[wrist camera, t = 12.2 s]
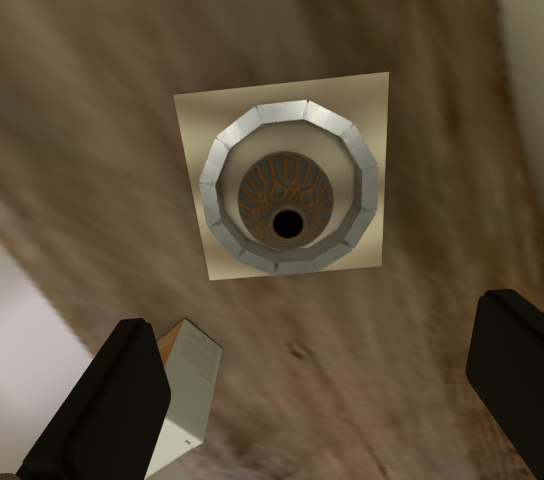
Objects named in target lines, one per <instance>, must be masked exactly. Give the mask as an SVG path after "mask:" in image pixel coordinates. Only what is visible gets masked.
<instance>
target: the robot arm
mask: <svg viewBox="0 0 544 480" xmlns="http://www.w3.org/2000/svg"><path fill="white" fill-rule="evenodd" d="M466 375H467V378H468V381H469V383H470V384H471V386H472V387H473V388H474V390H475V391H476V393H477V394H478V396H479V397H480V398H481V400H482V401H483V403H484V404H485V406H486V407H487V409H488V410H489V411H490V413H491V414H492V416H493V417H494V419H495V420H496V421H497V423H498V424H499V426H500V427H501V429H502V430H503V431H504V433H505V434H506V436H507V437H508V439H509V440H510V442H511V443H512V444H513V446H514V447H515V449H516V450H517V452H518V453H519V454H520V456H521V457H522V459H523V460H524V462H525V463H526V464H527V466H528V467H529V469H530V470H531V472H532V473H533V475H534V476H535V477H536V479H537V480H544V313H543V312H541V311H540V310H539V309H537V308H536V307H535V306H534V305H532V304H531V303H530V302H529V301H527V300H526V299H525V298H523V297H522V296H521V295H520V294H518V293H517V292H516V291H514V290H512V289H500V290H489V291H486V293H485V294H484V296H482V297H480V298H479V301H478V306H477V311H476V316H475V322H474V327H473V332H472V338H471V343H470V348H469V354H468V359H467V365H466ZM170 402H171V388H170V385H169V382H168V379H167V375H166V372H165V369H164V365H163V362H162V359H161V355H160V352H159V349H158V345H157V342H156V339H155V335H154V332H153V329H152V326H151V324H150V323H146V322H145V320H144V319H142V318H136V319H123V320H121V321H120V322H119V323H118V324H117V326H116V327H115V329H114V330H113V332H112V333H111V334H110V336H109V337H108V339H107V340H106V342H105V343H104V345H103V346H102V347H101V349H100V350H99V352H98V353H97V355H96V356H95V358H94V359H93V360H92V362H91V363H90V365H89V366H88V368H87V369H86V371H85V372H84V373H83V375H82V377H81V378H80V379H79V381H78V382H77V384H76V385H75V387H74V388H73V389H72V391H71V392H70V394H69V395H68V397H67V398H66V400H65V401H64V403H63V404H62V405H61V407H60V408H59V410H58V411H57V412H56V414H55V415H54V417H53V418H52V420H51V421H50V423H49V424H48V426H47V427H46V429H45V430H44V431H43V433H42V434H41V436H40V437H39V438H38V440H37V441H36V443H35V444H34V446H33V447H32V449H31V450H30V451H29V453H28V454H27V456H26V457H25V459H24V460H23V464H22V466H21V467H20V468H19V470H18V471H17V473H16V474H15V475H14V474H12V473H1V474H0V480H144V479H145V476H146V473H147V470H148V467H149V464H150V461H151V458H152V455H153V452H154V449H155V447H156V444H157V441H158V438H159V435H160V432H161V429H162V426H163V423H164V420H165V417H166V414H167V411H168V408H169V405H170Z"/></svg>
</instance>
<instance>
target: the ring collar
mask: <svg viewBox="0 0 544 480" xmlns="http://www.w3.org/2000/svg"><path fill="white" fill-rule="evenodd" d="M300 119H306V120H308V121H310V122H312V123H314V124H316V125H318V126H320V127H322V128H324V129H326V130H328V131H330V132H332V133H334V134H336V136H337V138H338V139H339V141H340V143H341V144H342V146H343V147H344V149H345V151H346V152H347V154H348V156H349V157H350V159H351V161H352V162H353V164H354V202H353V203H352V205H351V207H350V209H349V210H348V212H347V214H346V216H345V217H344V219H343V221H342V223H341V224H340V226H339V228H338V230H336V231H335V232H333V233H332V234H330V235H328V236H327V237H325V238H324V239H322V240H320V241H319V242H317V243H316V244H314V245H313V246H311V247H309V248H299V249H293V250H274V249H272V248H269V247H267V246H265V245H262V244H260V243H257V242H255V241H253V240H250V239H248V238H246V237H245V236H244V234H243V233H242V232H241V231H240V229H239V228H238V227H237V226H236V224H235V223H234V222H233V221H232V220H231V218H230V217H229V216H228V215H227V213H226V212H225V206H224V199H223V193H222V187H221V181H220V177H221V175H222V172H223V170H224V167H225V165H226V162H227V159H228V157H229V154H230V152H231V149H232V147H233V145H235V144H236V143H237V142H239V141H240V140H241V139H243V138H244V137H245V136H246V135H248V134H249V133H250V132H252V131H253V130H254V129H256V128H257V127H258V126H260V125H261V124H262V123H270V122H280V121H290V120H300ZM352 123H353V122H351V121H349V120H347V119H345V118H343V117H341V116H339V115H337V114H335V113H333V112H331V111H329V110H327V109H325V108H323V107H321V106H320V105H318V104H316V103H314V102H312V101H310V100H309V101H307V100H301V101H292V102H282V103H273V104H263V105H257V106H254V107H253V108H252V109H251V110H249V111H248V112H247V113H245V114H244V115H243V116H242V117H240V118H239V119H238V120H237V121H235V122H234V123H233V124H231V125H230V126H229V127H228V128H226V129H225V130H224V131H222V132H221V133H220V134H219V135H217V137H216V138H215V139H214V142H213V145H212V148H211V150H210V153H209V156H208V158H207V161H206V164H205V166H204V169H203V172H202V175H201V177H200V180H199V182H200V183H199V188H200V193H201V198H202V204H203V209H204V214H205V220H206V225H207V226H208V229H209V230H210V231H211V233H212V234H213V235H214V236H215V237H216V238H217V240H218V241H219V242H220V243H221V244H222V246H223V247H224V248H225V249H226V250H227V251H228V253H229V254H230V255H231V256H232V257H233V259H235V258H236V261H238V262H241V263H243V264H246V265H248V266H251V267H253V268H256V269H258V270H261V271H263V272H265V273H268V274H270V275H274V273H275V276H280V275H292V274H304V273H316V272H315V269H316V270H317V272H318V271H320V270H322V269H323V268H325V267H327V266H328V265H330V264H332V263H333V262H335V261H337V260H338V259H340V258H341V257H343V256H345V255H346V254H348V253H350V252H351V251H353V250H352V248H353V249H355V247H356V246H357V244H358V242H359V241H360V239H361V237H362V236H363V234H364V233H365V231H366V229H367V228H368V226H369V224H370V223H371V221H372V219H373V218H374V216H375V215H376V212H375V211H377V201H378V169H379V167H378V166H377V165H378V163H377V162H376V160H375V158H374V156H373V155H372V153H371V151H370V150H369V148H368V146H367V144H366V143H365V141H364V139H363V137H362V136H361V134H360V132H359V131H358V129H357V127H356V125H355V124H352Z"/></svg>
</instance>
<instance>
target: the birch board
mask: <svg viewBox="0 0 544 480" xmlns="http://www.w3.org/2000/svg"><path fill="white" fill-rule="evenodd" d="M388 86H389V72H383V73H374V74H364V75H355V76H346V77H336V78H327V79H318V80H309V81H299V82H290V83H281V84H271V85H262V86H253V87H243V88H234V89H225V90H216V91H206V92H197V93H188V94H178V95H173V96H174V101H175V106H176V111H177V116H178V121H179V126H180V131H181V137H182V142H183V147H184V152H185V157H186V162H187V167H188V172H189V177H190V182H191V187H192V192H193V197H194V203H195V208H196V213H197V218H198V223H199V228H200V233H201V238H202V243H203V248H204V253H205V258H206V263H207V269H208V274H209V279H210V280H221V279H233V278H245V277H257V276H269V275H270V274H268V273H265V272H263V271H261V270H258V269H256V268H253V267H251V266H248V265H246V264H243V263H241V262H238V261H236V258H235V259H233V257H232V256H231V255H230V254H229V253H228V251H227V250H226V249H225V248H224V247H223V246H222V244H221V243H220V242H219V241H218V240H217V238H216V237H215V236H214V235H213V234H212V233H211V231H210V230H209V229H208V226H207V225H206V220H205V214H204V209H203V204H202V198H201V193H200V188H199V183H200V182H199V180H200V177H201V175H202V172H203V169H204V166H205V164H206V161H207V158H208V156H209V153H210V150H211V148H212V145H213V142H214V139H215V138H216V137H217V135H219V134H220V133H221V132H222V131H224V130H225V129H226V128H228V127H229V126H230V125H231V124H233V123H234V122H235V121H237V120H238V119H239V118H240V117H242V116H243V115H244V114H245V113H247V112H248V111H249V110H251V109H252V108H253V107H254V106H257V105H263V104H273V103H282V102H292V101H301V100H307V101H309V100H310V101H312V102H314V103H316V104H318V105H320V106H321V107H323V108H325V109H327V110H329V111H331V112H333V113H335V114H337V115H339V116H341V117H343V118H345V119H347V120H349V121H351V122H353V123H352V124H355V125H356V127H357V129H358V131H359V132H360V134H361V136H362V137H363V139H364V141H365V143H366V144H367V146H368V148H369V150H370V151H371V153H372V155H373V156H374V158H375V160H376V162H377V163H378V165H377V166H378V167H379V169H378V201H377V211H375V212H376V215H375V216H374V218H373V219H372V221H371V223H370V224H369V226H368V228H367V229H366V231H365V233H364V234H363V236H362V237H361V239H360V241H359V242H358V244H357V246H356V247H355V249H353V248H352V250H353V251H351V252H350V253H348V254H346V255H345V256H343V257H341V258H340V259H338V260H337V261H335V262H333V263H332V264H330V265H328V266H327V267H325V268H323V269H322V270H320V271H329V270H341V269H354V268H366V267H378V266H381V263H382V237H383V212H384V187H385V162H386V137H387V111H388ZM279 151H292V152H297V153H300V154H303V155H305V156H307V157H309V158H311V159H312V160H314V161H315V162H316V163H317V164H318V165H319V166H320V167H321V168H322V169H323V170H324V172H325V173H326V175H327V176H328V178H329V181H330V183H331V186H332V190H333V197H334V205H333V211H332V215H331V218H330V220H329V223H328V225H327V226H326V228H325V229H324V231H323V232H322V233H321V235H320V236H319V237H318V238H316V239H315V240H314V241H313V242H311V243H309V244H308V245H306V246H303V247H301V248H309V247H311V246H313V245H314V244H316V243H317V242H319V241H320V240H322V239H324V238H325V237H327V236H328V235H330V234H332V233H333V232H335V231H336V230H338V228H339V226H340V224H341V223H342V221H343V219H344V217H345V216H346V214H347V212H348V210H349V209H350V207H351V205H352V203H353V202H354V164H353V162H352V161H351V159H350V157H349V156H348V154H347V152H346V151H345V149H344V147H343V146H342V144H341V143H340V141H339V139H338V138H337V136H336V134H334V133H332V132H330V131H328V130H326V129H324V128H322V127H320V126H318V125H316V124H314V123H312V122H310V121H308V120H306V119H300V120H290V121H280V122H270V123H262V124H261V125H260V126H258V127H257V128H256V129H254V130H253V131H252V132H250V133H249V134H248V135H246V136H245V137H244V138H243V139H241V140H240V141H239V142H237V143H236V144H235V145H233V147H232V149H231V152H230V154H229V157H228V159H227V162H226V165H225V167H224V170H223V172H222V175H221V177H220V181H221V187H222V193H223V199H224V206H225V212H226V213H227V215H228V216H229V217H230V218H231V220H232V221H233V222H234V223H235V224H236V226H237V227H238V228H239V229H240V231H241V232H242V233H243V234H244V236H245V237H246V238H248V239H250V240H253V241H255V242H257V243H260V242H259V241H258V240H256V239H255V238H254V237H253V236H252V235H251V234H250V233H249V232H248V230H247V229H246V227H245V226H244V224H243V222H242V220H241V217H240V214H239V209H238V192H239V187H240V184H241V181H242V179H243V177H244V175H245V174H246V172H247V171H248V169H249V168H250V167H251V166H252V165H253V164H254V163H255V162H256V161H258V160H259V159H260V158H262V157H264V156H266V155H268V154H271V153H274V152H279ZM260 244H262V243H260ZM262 245H264V244H262ZM265 246H266V245H265ZM267 247H268V246H267ZM269 248H271V247H269ZM272 249H274V248H272ZM297 249H299V248H297ZM274 250H279V249H274ZM315 272H317V270H316V269H315ZM274 275H275V273H274Z"/></svg>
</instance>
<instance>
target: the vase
mask: <svg viewBox="0 0 544 480" xmlns="http://www.w3.org/2000/svg"><path fill="white" fill-rule="evenodd" d="M333 205H334V197H333V190H332V186H331V183H330V181H329V178H328V176H327V175H326V173H325V172H324V170H323V169H322V168H321V167H320V166H319V165H318V164H317V163H316V162H315V161H314V160H312V159H311V158H309V157H307V156H305V155H303V154H300V153H297V152H292V151H279V152H274V153H271V154H268V155H266V156H264V157H262V158H260V159H259V160H258V161H256V162H255V163H254V164H253V165H252V166H251V167H250V168H249V169H248V171H247V172H246V174H245V175H244V177H243V179H242V181H241V184H240V187H239V192H238V209H239V214H240V217H241V220H242V222H243V224H244V226H245V227H246V229H247V230H248V232H249V233H250V234H251V235H252V236H253V237H254V238H255V239H256V240H258V241H259V242H260V243H262V244H264V245H266V246H268V247H271V248H274V249H279V250H293V249H297V248H301V247H303V246H306V245H308V244H309V243H311V242H313V241H314V240H315V239H316V238H318V237H319V236H320V235H321V233H322V232H323V231H324V229H325V228H326V226H327V225H328V223H329V220H330V218H331V215H332V211H333Z"/></svg>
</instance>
